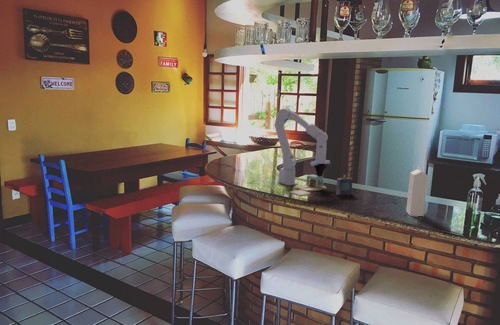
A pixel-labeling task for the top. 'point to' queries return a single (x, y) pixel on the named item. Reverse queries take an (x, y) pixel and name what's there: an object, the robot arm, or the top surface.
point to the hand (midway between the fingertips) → (319, 177)
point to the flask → (344, 186)
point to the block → (314, 183)
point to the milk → (417, 193)
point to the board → (308, 188)
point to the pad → (300, 192)
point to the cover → (315, 179)
